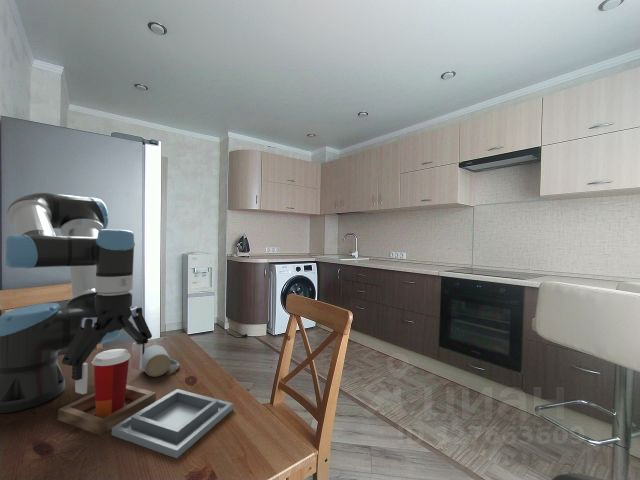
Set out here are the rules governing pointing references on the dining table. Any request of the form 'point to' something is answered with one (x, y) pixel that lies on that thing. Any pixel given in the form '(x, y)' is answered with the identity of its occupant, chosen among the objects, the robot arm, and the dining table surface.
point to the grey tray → (173, 422)
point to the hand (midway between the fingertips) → (111, 379)
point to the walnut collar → (101, 425)
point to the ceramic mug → (157, 361)
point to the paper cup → (110, 380)
